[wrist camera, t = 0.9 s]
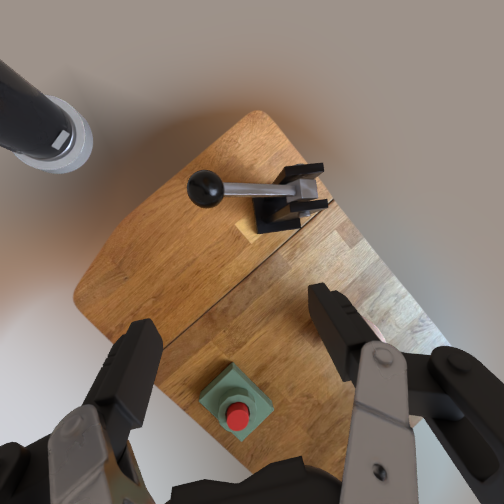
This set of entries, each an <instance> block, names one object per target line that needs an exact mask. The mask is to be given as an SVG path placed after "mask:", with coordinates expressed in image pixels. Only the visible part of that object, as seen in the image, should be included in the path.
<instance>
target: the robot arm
mask: <svg viewBox="0 0 504 504" xmlns="http://www.w3.org/2000/svg"><path fill="white" fill-rule="evenodd" d="M76 136H77V133H76V127H75V124H74V122H73V120H72V118H71V117H70V115H69V114H68V113H67V112H66V111H65V110H63V109H62V108H61V107H60V106H58V105H57V104H55V103H54V102H52V101H51V100H50V99H49V98H47V97H46V96H45V95H44V94H43V93H41V92H40V91H39V90H38V89H36V88H35V87H34V86H33V85H31V84H30V83H29V82H28V81H26V80H25V79H24V78H23V77H21V76H20V75H19V74H18V73H16V72H15V71H14V70H13V69H11V68H10V67H9V66H8V65H6V64H5V63H4V62H2V61H1V60H0V146H1V147H4V148H6V149H8V150H11V151H13V152H15V153H18V154H24V155H26V156H28V157H31V158H33V159H35V160H39V161H44V162H51V161H56V160H59V159H62V158H63V157H65V156H66V155H68V154H69V153H70V151H71V150H72V149H73V147H74V145H75V142H76ZM308 307H309V313H310V316H311V319H312V321H313V323H314V325H315V327H316V329H317V331H318V333H319V335H320V337H321V339H322V341H323V343H324V345H325V347H326V349H327V351H328V353H329V355H330V357H331V359H332V361H333V363H334V365H335V367H336V369H337V371H338V373H339V375H340V377H341V379H342V381H343V382H346V381H350V380H351V381H352V383H353V385H354V387H355V388H356V389H355V396H354V403H353V410H352V417H351V424H350V431H349V437H348V444H347V451H346V458H345V465H344V472H343V478H342V482H341V481H339V480H338V479H337V478H336V477H334V476H333V475H331V474H329V473H328V472H326V471H324V470H322V469H320V468H316V467H313V466H309V465H304V463H303V459H302V456H299V457H294V458H290V459H286V460H282V461H278V462H274V463H270V464H269V465H267V466H266V467H264V468H262V469H261V470H259V471H258V472H256V473H255V474H253V475H252V476H250V477H249V478H247V479H245V480H244V481H242V482H240V483H235V484H234V483H228V482H220V481H214V480H207V479H204V480H199V481H195V482H191V483H187V484H182V485H178V486H174V487H172V493H171V499H170V500H169V501H168V502H166V503H165V504H419V501H418V485H417V466H416V448H415V436H414V432H413V429H412V428H411V427H410V424H409V415H415V416H422V417H423V418H424V419H425V420H426V422H427V424H428V425H429V427H430V428H431V430H432V431H433V433H434V434H435V435H436V437H437V439H438V440H439V441H440V443H441V445H442V446H443V448H444V449H445V451H446V452H447V454H448V455H449V457H450V458H451V460H452V461H453V463H454V464H455V466H456V467H457V469H458V470H459V471H460V473H461V475H462V476H463V478H464V479H465V481H466V482H467V484H468V485H469V487H470V488H471V490H472V491H473V493H474V494H475V496H476V497H477V499H478V500H479V502H480V503H481V504H504V384H503V383H502V382H501V381H500V380H499V379H498V378H497V377H496V376H495V375H494V374H493V373H491V372H490V371H489V370H488V369H487V368H486V367H485V366H484V365H483V364H482V363H481V362H480V361H478V360H477V359H476V358H475V357H473V356H472V355H470V354H469V353H467V352H465V351H463V350H460V349H458V348H454V347H450V346H440V347H437V348H435V349H434V350H433V351H432V353H431V355H423V354H412V353H404V352H400V351H399V350H398V349H396V348H395V347H394V346H392V345H390V344H388V343H385V342H382V341H381V340H380V339H379V338H378V336H377V335H376V334H375V333H374V331H373V330H372V329H371V328H370V326H369V325H368V324H367V322H366V321H365V320H364V319H363V317H362V316H361V315H360V314H359V313H358V312H357V310H356V309H355V307H354V306H352V304H351V302H350V301H349V300H348V298H347V297H346V296H345V295H343V294H341V293H340V292H338V291H337V290H335V291H331V292H330V290H329V289H328V287H327V286H326V285H325V283H323V282H322V283H318V284H313V285H309V286H308ZM162 352H163V341H162V338H161V336H160V334H159V332H158V331H157V329H156V327H155V325H154V323H153V321H152V320H151V319H150V318H148V319H143V320H138V321H134V322H132V323H131V325H130V327H129V329H128V331H127V333H126V334H124V335H122V336H121V337H120V338H119V339H118V340H117V341H116V343H115V344H114V345H113V346H112V348H111V350H110V352H109V354H108V358H106V360H105V362H104V364H103V367H102V368H101V370H100V371H99V373H98V375H97V377H96V379H95V381H94V383H93V385H92V387H91V389H90V391H89V392H88V394H87V396H86V398H85V400H84V402H83V404H82V406H80V407H78V408H76V409H74V410H73V411H71V412H70V413H69V414H67V415H66V416H65V417H64V418H63V419H62V420H61V421H60V422H59V424H58V425H57V426H56V427H55V429H54V430H53V432H52V433H51V434H49V435H47V436H45V437H43V438H41V439H39V440H38V441H36V442H34V443H32V444H30V445H28V446H26V447H23V446H22V445H20V444H18V443H16V442H10V443H6V444H4V445H2V446H0V504H155V502H154V500H153V498H152V497H151V495H150V494H149V492H148V490H147V488H146V486H145V484H144V481H143V478H142V475H141V472H140V470H139V467H138V464H137V461H136V459H135V456H134V453H133V450H132V447H131V444H130V442H129V440H128V436H129V433H130V430H132V429H136V428H140V427H142V425H143V421H144V418H145V414H146V410H147V407H148V403H149V399H150V396H151V392H152V388H153V385H154V381H155V377H156V374H157V370H158V366H159V363H160V359H161V355H162Z"/></svg>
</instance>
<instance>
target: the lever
mask: <svg viewBox="0 0 504 504" xmlns="http://www.w3.org/2000/svg"><path fill="white" fill-rule="evenodd" d="M187 193H188V196H189V198H190V200H191V201H192V202H193V203H194V204H195V205H197V206H199V207H201V208H213V207H215V206H217V205H218V204H219V203H220V202H221V201H222V199H223V197H286V198H287V203H298V202H307V201H310V200H314V199H317V198H318V193H317V185H316V180H315V179H297V180H295V181H293V182H290V183H288V184H285V185H275V184H251V183H226V182H223V181H222V179H221V178H220V177H219V176H218V175H217V174H216V173H214V172H212V171H209V170H200V171H197V172H195V173H194V174H193V175H192V176H191V177H190V178H189V180H188V183H187Z"/></svg>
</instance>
